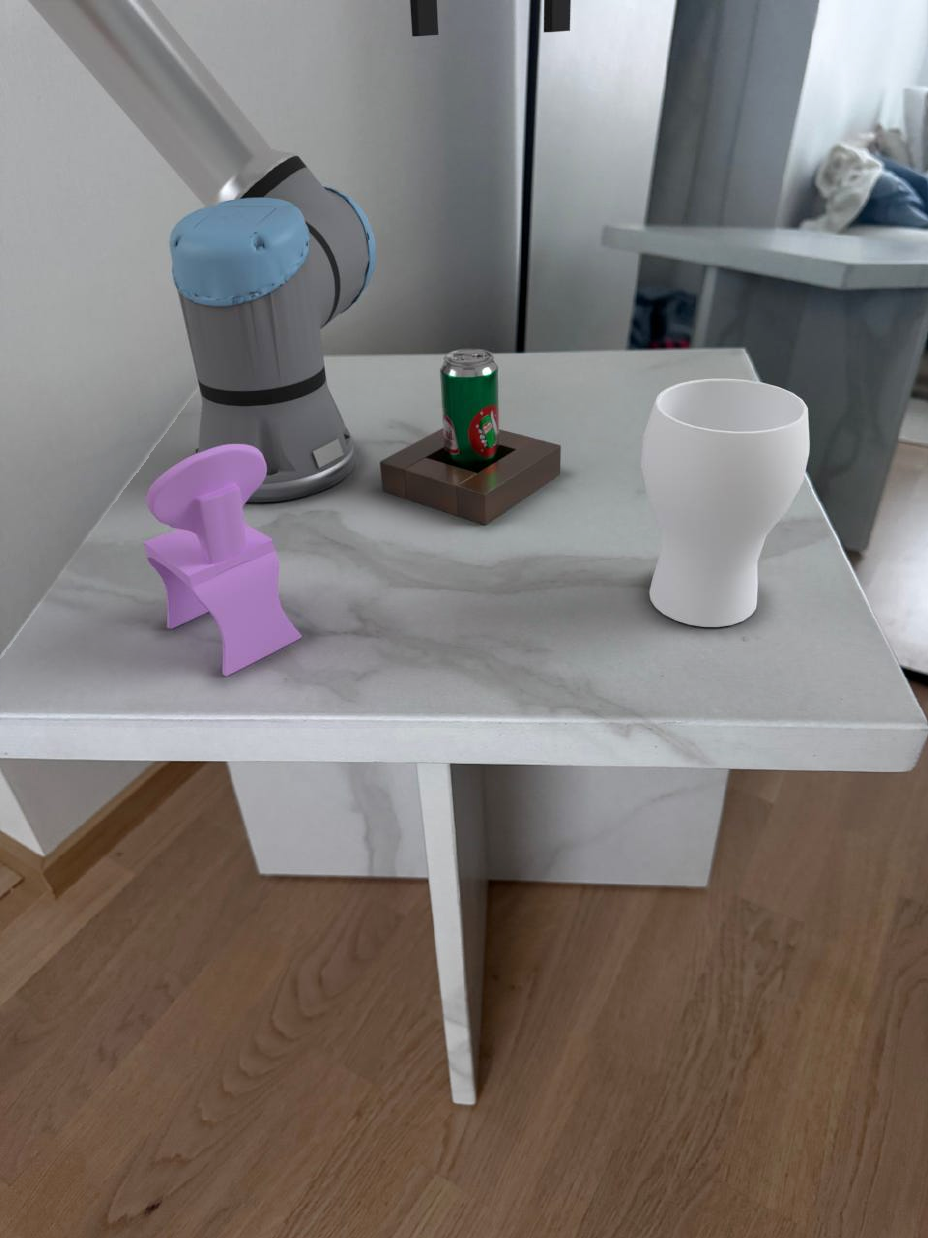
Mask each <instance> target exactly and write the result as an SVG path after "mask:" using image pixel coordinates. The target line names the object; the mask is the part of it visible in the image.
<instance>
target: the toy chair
mask: <svg viewBox="0 0 928 1238" xmlns="http://www.w3.org/2000/svg"><path fill="white" fill-rule="evenodd" d="M266 473H267V466H266V462H265V459H264V457H263V455H262V453H261V452H260V451H259V450H258V449H257V448H255V447H253V446H250V445H246V444H227V445H221V446H217V447H214V448H211V449H208V450H206V451H203V452H200V453H195V454H192V455H191V456H188V457H186V458H184V459H183V460H180V461H179V462H178V463H176V464H173V466H171V467H170V468H169V469H167V470H166V471H164V472H163V473H162V474H161V475H160V476H158V477H157V478H156V479H155V480H154V481H153V483H152V484H151V485H150V486H149V488H148V490H147V492H146V496H145V503H146V506H147V507H146V508H147V509H148V510H149V512H150V513H151V515H152V516H153V518H155V519H156V520H157V521H158V522H160V523H161V524H163V525H166V526H169V527H170V528H171V529H175V530H172V531H169V532H166V533H163V534H160V535H157V536H154V537H152V538H150V539H148V540H144V541H143V542H142V543H143V546H144V550H145V557H146V559H147V561H148V563H149V564H150V566H151V567H152V568H154V570H155V571H156V572H157V573H158V575H159V577H160V578H161V580H162V582H163V585H164V588H165V589H164V590H165V593H166V601H167V603H166V604H167V606H166V607H167V616H166V617H167V619H166V627H167V629H168V630H172V629H175V628H177V627H180V626H181V625H183V624H185V623H188V622H190V621H192V620H194V619H196V618H199V617H201V616H203V615H205V614H208V613H209V614H210V615H211V616H212V618H213V619H214V620H215V623H216V624H217V626H218V629H219V631H220V635H221V642H222V669H221V670H222V671H221V673H222V676H224V677H228V676H230V675H233V674H234V673H236V672H238V671H240V670H242V669H244V668H246V667H248V666H249V665H252V664H254V663H256V662H258V661H259V660H261V659H263V658H266V657H267V656H269V655H271V654H273V653H275V652H277V651H279V650H281V649H283V648H285V647H287V646H289V645H291V644H292V643H294V642H296V641H298V640H300V639H302V638H303V637H302V634H301V633H300V632H299V631H298V630H297V628H296V627H295V626H294V625H293V623H292V622H291V620H290V619H289V618H288V616H287V614H286V613H285V611H284V609H283V606H282V605H281V604H282V603H281V601H280V596H279V595H280V594H279V576H280V559H279V556H278V553H277V552H276V549H275V544H274V539H273V538H271V537H270V536H268V535H266V534H264V532H261V531H259V530H257V529H255V528H253V527H252V526H250V525H249V524H247V523H245V518H244V512H243V507H244V506H245V504H247V503H248V502H247V500H248V499H249V498H250V496H251V495H252V494H253V493H254V492H255V491H256V490H257V489H258V488H259V487H260V485H261V484H262V483H263V481H264V479H265V477H266Z"/></svg>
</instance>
